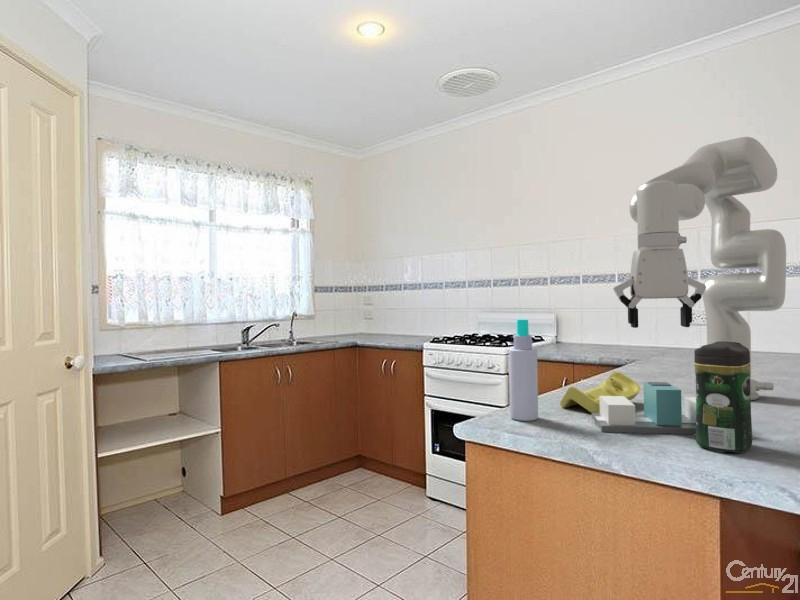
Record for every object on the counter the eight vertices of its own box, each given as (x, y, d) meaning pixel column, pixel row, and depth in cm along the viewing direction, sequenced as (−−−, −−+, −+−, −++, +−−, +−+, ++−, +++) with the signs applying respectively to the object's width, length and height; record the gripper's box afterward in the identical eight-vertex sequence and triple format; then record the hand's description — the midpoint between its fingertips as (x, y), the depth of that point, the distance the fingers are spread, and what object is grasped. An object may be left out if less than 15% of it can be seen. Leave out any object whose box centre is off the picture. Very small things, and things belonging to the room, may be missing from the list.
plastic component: (602, 407, 112) (566, 382, 119) (591, 433, 115) (556, 408, 122) (648, 389, 123) (612, 367, 130) (636, 413, 126) (602, 391, 133)
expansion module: (666, 414, 107) (666, 381, 107) (681, 425, 98) (681, 389, 98) (644, 414, 108) (643, 380, 108) (656, 425, 99) (656, 388, 99)
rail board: (716, 421, 106) (716, 396, 106) (741, 436, 95) (741, 408, 95) (591, 418, 111) (591, 394, 111) (601, 431, 100) (601, 405, 100)
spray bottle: (544, 418, 111) (542, 319, 111) (526, 423, 108) (524, 320, 108) (522, 413, 116) (520, 318, 116) (504, 418, 113) (502, 319, 112)
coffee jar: (706, 436, 95) (705, 338, 95) (756, 445, 90) (755, 340, 89) (689, 447, 89) (687, 342, 89) (742, 457, 83) (740, 345, 83)
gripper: (697, 243, 105) (698, 325, 105) (609, 246, 108) (610, 326, 108) (712, 239, 98) (713, 327, 98) (617, 243, 101) (619, 328, 101)
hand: (659, 327), depth 103 cm, fingers open, 9 cm apart
